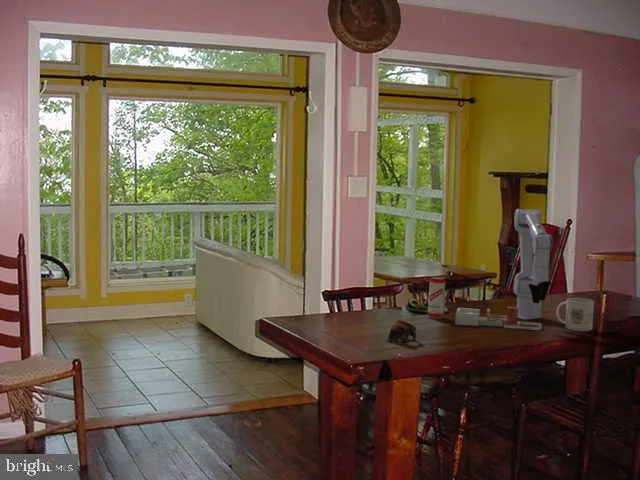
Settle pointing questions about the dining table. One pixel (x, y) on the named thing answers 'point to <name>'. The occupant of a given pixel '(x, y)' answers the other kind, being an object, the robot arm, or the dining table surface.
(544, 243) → the robot arm
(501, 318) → the carriage
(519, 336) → the dining table surface
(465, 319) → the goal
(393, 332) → the brown animal figurine
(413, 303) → the salad plate
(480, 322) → the track
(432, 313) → the beer can
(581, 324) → the mug
